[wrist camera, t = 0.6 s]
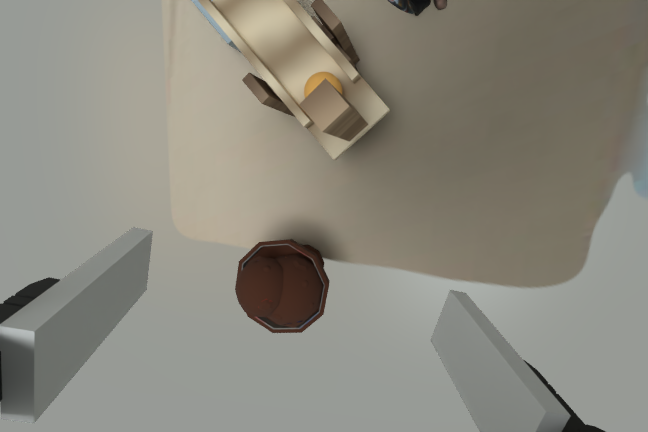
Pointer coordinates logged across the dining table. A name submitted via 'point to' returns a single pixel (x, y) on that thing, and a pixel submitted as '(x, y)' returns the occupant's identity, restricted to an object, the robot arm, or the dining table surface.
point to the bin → (215, 24)
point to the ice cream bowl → (282, 285)
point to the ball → (318, 78)
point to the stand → (332, 31)
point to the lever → (301, 68)
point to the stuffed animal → (417, 5)
